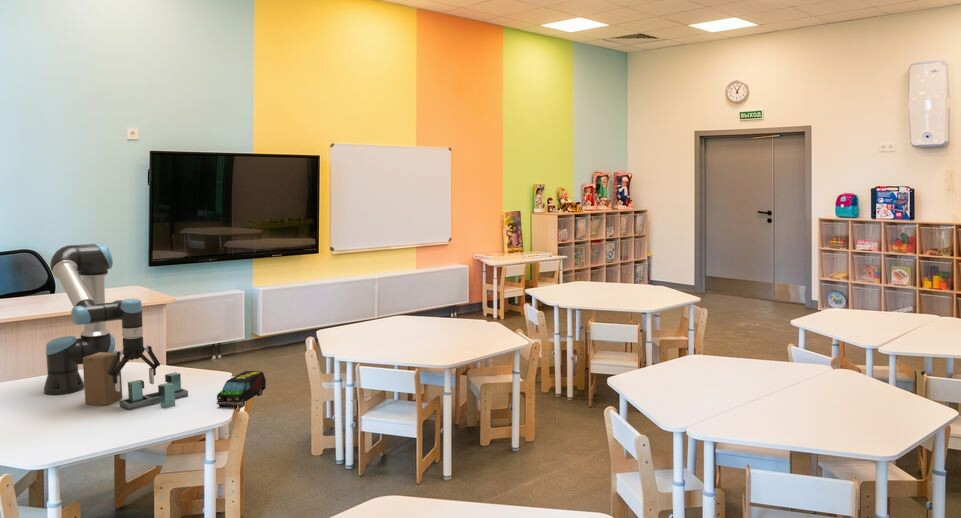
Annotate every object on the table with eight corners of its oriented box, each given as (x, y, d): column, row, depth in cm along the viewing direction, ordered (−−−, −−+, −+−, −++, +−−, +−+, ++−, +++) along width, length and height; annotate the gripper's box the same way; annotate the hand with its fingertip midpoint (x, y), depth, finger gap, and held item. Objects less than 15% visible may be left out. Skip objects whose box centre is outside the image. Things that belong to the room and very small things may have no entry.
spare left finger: (158, 406, 283) (157, 385, 282) (170, 403, 286) (169, 382, 286) (163, 408, 280) (162, 386, 279) (175, 405, 284) (174, 384, 283)
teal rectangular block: (128, 403, 283) (127, 382, 282) (141, 400, 287) (140, 379, 286) (133, 405, 281) (131, 383, 280) (145, 402, 284) (144, 381, 284)
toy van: (215, 408, 280) (214, 384, 279) (245, 390, 305) (244, 368, 304) (240, 409, 279) (239, 385, 278) (267, 391, 303) (266, 369, 302)
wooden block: (105, 405, 283) (103, 358, 281) (84, 404, 285) (82, 357, 283) (122, 398, 293) (120, 352, 291) (102, 397, 295) (99, 351, 293)
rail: (119, 406, 282) (118, 382, 281) (179, 392, 301) (178, 370, 300) (128, 410, 277) (126, 386, 276) (188, 396, 296) (187, 373, 295)
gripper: (104, 343, 269) (106, 396, 271) (167, 333, 288) (169, 382, 290) (96, 340, 274) (99, 392, 276) (159, 330, 293) (161, 378, 295)
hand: (135, 387), depth 283 cm, fingers open, 13 cm apart
